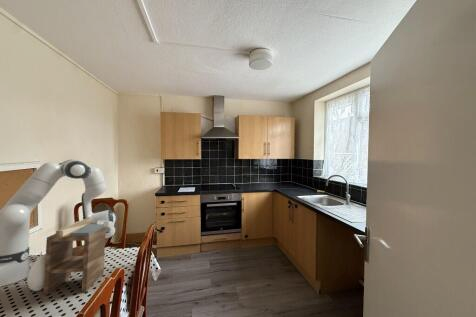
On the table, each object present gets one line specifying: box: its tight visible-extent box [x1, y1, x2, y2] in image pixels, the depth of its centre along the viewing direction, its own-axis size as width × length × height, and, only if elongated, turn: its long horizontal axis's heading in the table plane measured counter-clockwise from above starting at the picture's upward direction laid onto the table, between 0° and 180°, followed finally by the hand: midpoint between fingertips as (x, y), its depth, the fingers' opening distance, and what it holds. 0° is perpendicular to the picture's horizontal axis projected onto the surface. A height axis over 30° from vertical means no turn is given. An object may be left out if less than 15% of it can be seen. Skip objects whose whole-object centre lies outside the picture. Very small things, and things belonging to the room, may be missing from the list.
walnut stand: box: [42, 227, 106, 296], centre depth 94 cm, size 18×14×26 cm
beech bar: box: [55, 218, 93, 236], centre depth 99 cm, size 3×22×2 cm, turn 8°
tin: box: [72, 244, 84, 256], centre depth 116 cm, size 15×3×8 cm, turn 139°
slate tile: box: [70, 224, 104, 236], centre depth 95 cm, size 8×13×2 cm, turn 8°
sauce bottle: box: [26, 251, 46, 292], centre depth 89 cm, size 8×8×18 cm
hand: (87, 222), depth 108 cm, fingers open, 8 cm apart
